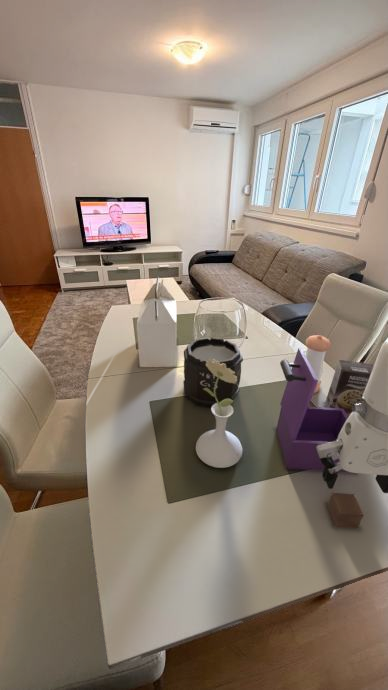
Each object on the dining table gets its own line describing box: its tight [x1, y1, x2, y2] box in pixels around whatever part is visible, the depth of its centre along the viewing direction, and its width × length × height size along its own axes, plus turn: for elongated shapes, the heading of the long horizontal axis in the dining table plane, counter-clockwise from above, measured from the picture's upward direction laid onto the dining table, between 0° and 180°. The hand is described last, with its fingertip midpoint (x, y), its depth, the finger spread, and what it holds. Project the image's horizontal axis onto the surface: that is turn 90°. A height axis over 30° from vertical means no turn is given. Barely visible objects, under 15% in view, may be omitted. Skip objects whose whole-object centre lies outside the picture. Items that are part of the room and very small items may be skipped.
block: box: [326, 492, 364, 529], centre depth 59 cm, size 4×4×4 cm
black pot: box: [183, 337, 244, 408], centre depth 92 cm, size 18×18×16 cm
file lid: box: [279, 347, 318, 441], centre depth 67 cm, size 16×13×5 cm
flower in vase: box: [195, 359, 243, 469], centre depth 68 cm, size 13×11×25 cm
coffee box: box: [324, 359, 374, 417], centre depth 84 cm, size 9×6×16 cm
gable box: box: [136, 276, 178, 368], centre depth 110 cm, size 22×13×28 cm, turn 3°
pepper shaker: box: [305, 334, 331, 394], centre depth 94 cm, size 7×7×19 cm
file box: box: [276, 406, 353, 474], centre depth 73 cm, size 16×13×9 cm
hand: (354, 484), depth 55 cm, fingers open, 9 cm apart
